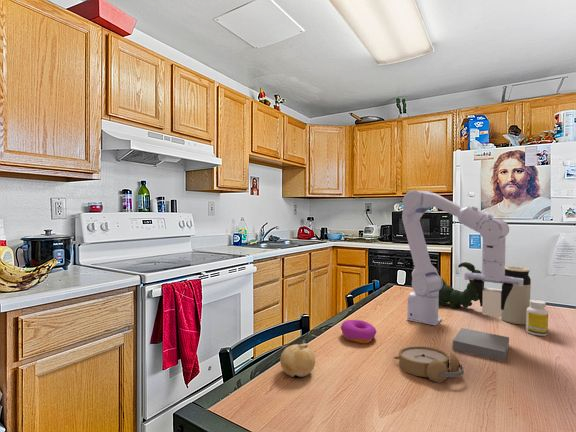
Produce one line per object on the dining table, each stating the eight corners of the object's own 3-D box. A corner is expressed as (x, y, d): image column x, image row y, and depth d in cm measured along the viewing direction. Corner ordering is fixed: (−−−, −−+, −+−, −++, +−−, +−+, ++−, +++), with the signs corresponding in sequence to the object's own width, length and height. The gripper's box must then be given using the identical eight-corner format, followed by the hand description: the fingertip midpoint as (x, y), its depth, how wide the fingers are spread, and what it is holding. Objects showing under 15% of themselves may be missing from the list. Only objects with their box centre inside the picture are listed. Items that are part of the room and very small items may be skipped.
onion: (303, 385, 74) (304, 353, 74) (273, 375, 78) (273, 345, 78) (320, 370, 81) (320, 340, 81) (291, 362, 85) (291, 333, 85)
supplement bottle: (551, 337, 102) (552, 304, 102) (530, 335, 103) (531, 303, 103) (541, 330, 108) (542, 299, 107) (522, 329, 109) (523, 298, 108)
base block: (452, 349, 93) (452, 340, 93) (461, 336, 103) (461, 327, 103) (505, 361, 86) (505, 352, 86) (508, 346, 95) (509, 337, 95)
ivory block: (482, 314, 100) (482, 290, 99) (484, 310, 103) (484, 287, 103) (500, 317, 97) (501, 292, 97) (501, 313, 101) (502, 289, 100)
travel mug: (503, 323, 114) (505, 269, 114) (499, 316, 122) (500, 265, 121) (532, 326, 111) (534, 271, 111) (525, 319, 119) (527, 267, 118)
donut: (368, 348, 94) (368, 331, 94) (334, 340, 99) (334, 324, 99) (380, 336, 103) (380, 320, 102) (348, 329, 108) (348, 314, 108)
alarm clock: (416, 342, 91) (473, 353, 78) (419, 362, 90) (476, 375, 78) (388, 353, 84) (444, 365, 72) (390, 374, 84) (448, 390, 71)
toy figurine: (481, 313, 130) (418, 294, 148) (488, 264, 128) (423, 251, 146) (472, 318, 123) (407, 298, 142) (478, 267, 121) (412, 253, 140)
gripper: (463, 259, 101) (462, 305, 101) (523, 265, 92) (521, 315, 93) (467, 257, 106) (466, 300, 107) (524, 261, 98) (522, 309, 98)
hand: (492, 307), depth 100 cm, fingers closed on ivory block, 4 cm apart
